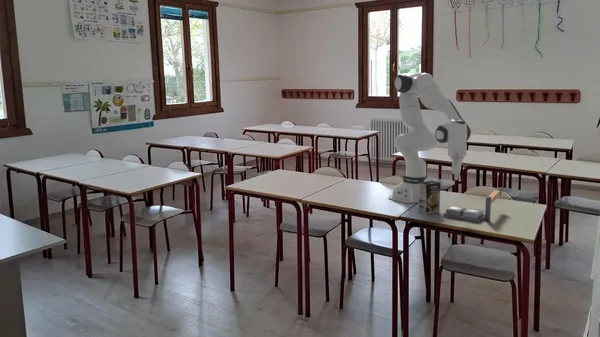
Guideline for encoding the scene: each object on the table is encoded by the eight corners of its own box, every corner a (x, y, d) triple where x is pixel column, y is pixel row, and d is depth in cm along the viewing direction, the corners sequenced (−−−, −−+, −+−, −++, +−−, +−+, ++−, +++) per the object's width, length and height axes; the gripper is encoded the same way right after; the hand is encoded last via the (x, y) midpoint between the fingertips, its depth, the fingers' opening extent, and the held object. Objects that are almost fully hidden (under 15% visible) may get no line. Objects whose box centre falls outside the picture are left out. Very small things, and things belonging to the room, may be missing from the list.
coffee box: (426, 215, 260) (427, 184, 257) (418, 212, 266) (418, 182, 263) (440, 212, 264) (441, 182, 261) (431, 209, 270) (432, 180, 267)
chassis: (443, 216, 257) (443, 208, 257) (451, 211, 265) (451, 204, 264) (478, 222, 246) (479, 214, 246) (485, 217, 254) (486, 209, 253)
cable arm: (490, 221, 247) (491, 198, 244) (483, 220, 248) (484, 197, 246) (500, 209, 266) (502, 187, 264) (494, 208, 268) (495, 186, 266)
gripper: (463, 156, 240) (462, 184, 243) (464, 149, 259) (463, 175, 262) (449, 155, 243) (448, 183, 245) (451, 148, 261) (450, 174, 264)
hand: (456, 179), depth 254 cm, fingers closed
